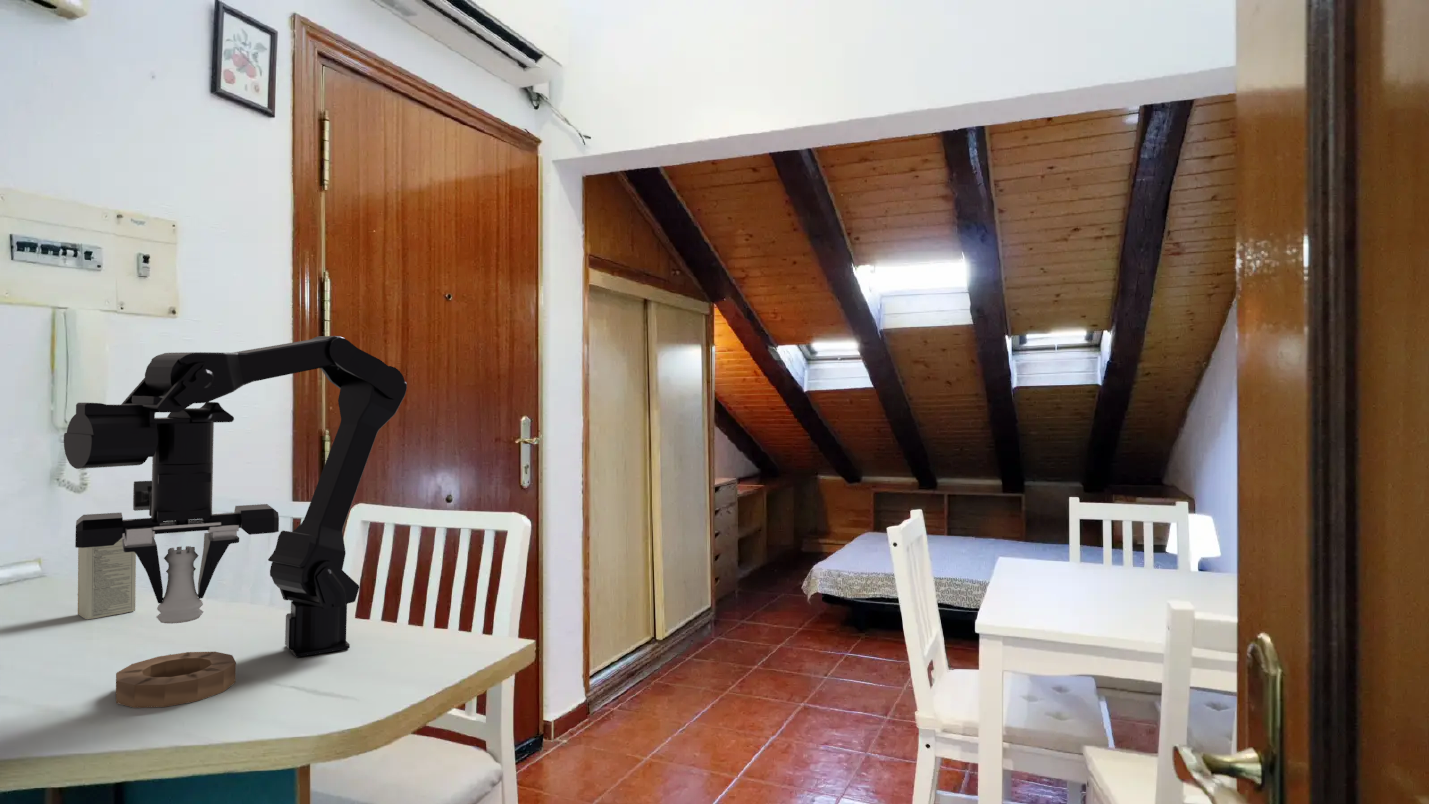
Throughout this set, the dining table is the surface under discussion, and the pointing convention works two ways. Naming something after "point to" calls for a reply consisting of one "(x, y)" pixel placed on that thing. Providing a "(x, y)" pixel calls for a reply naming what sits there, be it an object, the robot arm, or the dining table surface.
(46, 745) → the dining table surface
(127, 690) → the walnut bead ring
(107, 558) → the skincare box
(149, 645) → the dining table surface
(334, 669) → the dining table surface
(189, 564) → the rook chess piece
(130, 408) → the robot arm
